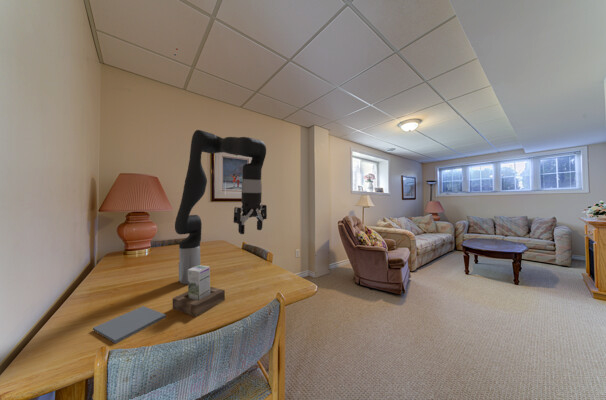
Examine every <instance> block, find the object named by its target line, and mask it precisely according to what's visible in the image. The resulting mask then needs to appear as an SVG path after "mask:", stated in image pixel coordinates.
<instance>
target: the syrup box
mask: <svg viewBox="0 0 606 400" xmlns="http://www.w3.org/2000/svg"><path fill="white" fill-rule="evenodd" d="M210 269H211V268H210V266H209V265H208V266H207V265H201V264H200V265H198V266H195V267H193V268H190V269H188V284H187V290H188V297H189V299H193V300H196V301H198V300H200V299H202V298H204V297H206V296H208V295H210V287H211V271H210Z"/></svg>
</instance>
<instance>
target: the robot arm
mask: <svg viewBox="0 0 606 400" xmlns="http://www.w3.org/2000/svg"><path fill="white" fill-rule="evenodd" d="M202 153H207V154H219V153H225V154H229V155H236V156H240V157H241V156H242V157H246V158H251V161H250V163H245V164H243V166H242V180H241V181H242V182H241V207H238V206H235V207H234V209H233V210H234V211H233V223H234V224H237V225H238V233H239V234H240V235H244V234H245V226H246V225H245V223H246V222H247V221H248V220H249V218H252V217H253V218H256V220H257V221H256V230H257V231H262V229H263V222H264V220H267V216H268V215H267V210H268V209H267V208H268V207H267V205H266V204H263V203H262V195H263V194H262V190H263V189H262V188H263V187H262V169H263V166H264V161H265V159H266V155H267V147H266V144H265V142H264V141H263V140H260V139H256V138H252V137H249V136H248V137H247V136H241V137H237V136H227V137H221V136H218V135H216V134H214V133H211V132H207V131H204V130H201V129H196V130H195V131H194V132H193V134H192V137H191V141H190V151H189V160H188V165H187V170H186V177H185V180H184V185H183V191H182V196H181V201H180V204H179V208H178V211H177V215H176V218H175V222H174V230H175V233H176V234H178V235H188V236H187V237H186V238H184V239H182V240H181V241H179V243H178V246H179V248H178V249H179V250H178V251H179V253H178V254H179V262H178V282H179V283H180V284H183V285H188V269H190V268H193V267H195V266H198V265H201V241H202V229H203V227H202V219H201V216H199V214H198V215H197V214H191V211H192V210H193V209H194V207H195V205H197V204H198V202H199V201H200V200H201V199H202V198H203V196H204V194H205V192H206V188H207V184H208V179H207V174H206V172H205V170H204V168H203V165H202ZM261 203H262V204H261Z"/></svg>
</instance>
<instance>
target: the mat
mask: <svg viewBox="0 0 606 400" xmlns="http://www.w3.org/2000/svg"><path fill="white" fill-rule="evenodd" d="M163 319H167V314H165V313H162V312H160V311H157V310H155V309H152V308H149V307H147V306H145V305H143V306H140V307H138V308H135V309H133V310H130V311H129V312H126V313H123V314H122V315H119V316H117V317H114V318H112V319H109V320H107V321H105V322H102V323H100V324H97V325H95V326H93V327H92V331H93V330H94V331H96V332H98V333H99V334H101V335H103V336H104V337H106V338H107V339H106V338H105V339H106V340H108V339H109V340H110V342H111V341H112V342H111V343H113V344H115V345H116V344H118V343H120V342H122V341H123V339H124V340H125V338H126V339H127V338H130V337H131V336H133V335H135V334H137V333H139V332H140V331H143V330H145V329H147V328H149V327H151V326H152V325H154V324H156V323H158V322H160V321H162V320H163ZM94 331H93V332H94ZM96 332H95V333H96ZM98 333H97V334H98ZM99 334H98V335H99ZM101 335H100V336H101ZM103 336H102V337H103ZM104 337H103V338H104ZM109 340H108V341H109Z"/></svg>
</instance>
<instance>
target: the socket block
mask: <svg viewBox="0 0 606 400" xmlns="http://www.w3.org/2000/svg"><path fill="white" fill-rule="evenodd" d="M225 295H226V291H225V290H224V289H223V288H217V287H213V286H210V295H208V296H206V297H204V298H202V299H200V300H198V301H196V300H193V299H189V297H188V291H186V292H183V293H181V294H178V295H177V296H175V297H172V309H173V310H174V311H177V312H181V313H184V314H186V315H188V316H192V317H194V318H197V317H199V316H200V315H201V314H204V313H205V312H207V311H209V310H210V309H212V308H213V307H215V306H217V305H219V304H221V303H222V302H224V301H225V300H226V297H225Z"/></svg>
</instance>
